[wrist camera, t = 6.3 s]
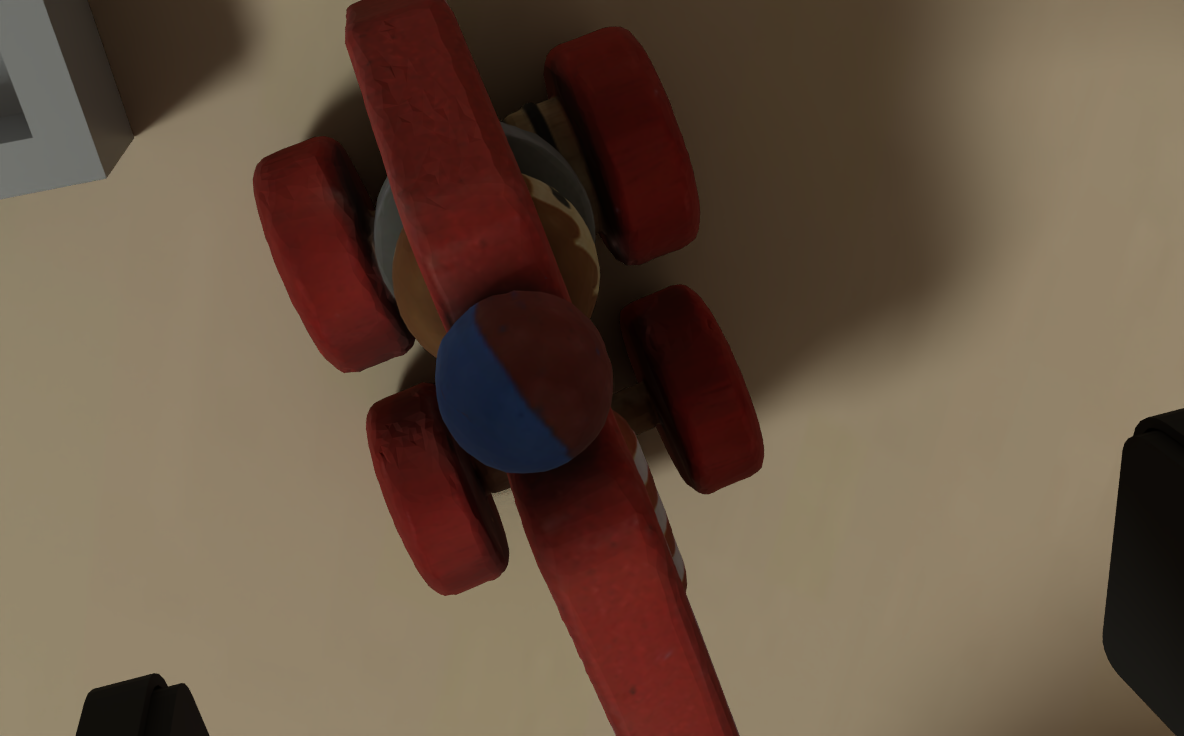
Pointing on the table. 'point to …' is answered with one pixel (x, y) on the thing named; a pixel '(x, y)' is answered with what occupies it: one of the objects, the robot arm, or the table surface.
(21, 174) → the grey shallow rectangular tray
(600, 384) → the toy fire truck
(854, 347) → the table surface
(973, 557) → the table surface
